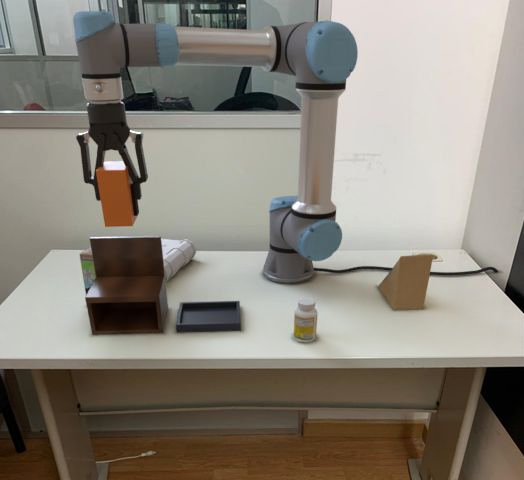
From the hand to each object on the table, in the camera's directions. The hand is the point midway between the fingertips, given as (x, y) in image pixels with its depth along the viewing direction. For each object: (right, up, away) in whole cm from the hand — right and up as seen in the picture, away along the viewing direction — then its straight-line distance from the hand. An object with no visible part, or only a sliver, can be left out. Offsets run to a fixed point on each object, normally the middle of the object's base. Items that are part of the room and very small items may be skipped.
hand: (121, 214), depth 119 cm
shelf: (-1, -23, +14) cm, 28 cm away
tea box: (-9, -16, +27) cm, 33 cm away
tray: (+18, -23, +15) cm, 33 cm away
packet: (0, -1, +1) cm, 1 cm away
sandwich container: (+70, -16, +27) cm, 76 cm away
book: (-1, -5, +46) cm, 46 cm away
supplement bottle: (+42, -28, +8) cm, 51 cm away
